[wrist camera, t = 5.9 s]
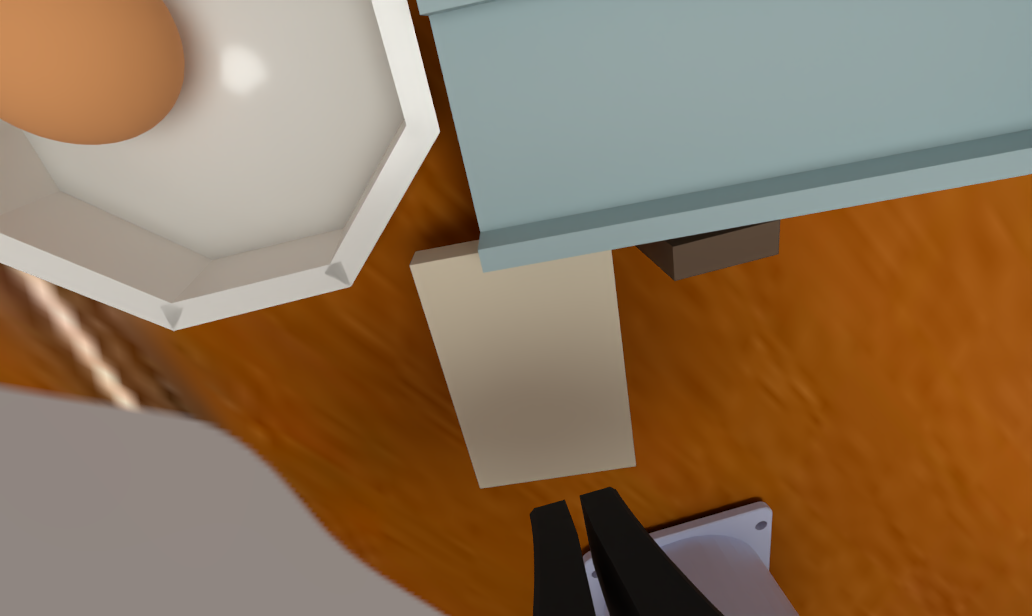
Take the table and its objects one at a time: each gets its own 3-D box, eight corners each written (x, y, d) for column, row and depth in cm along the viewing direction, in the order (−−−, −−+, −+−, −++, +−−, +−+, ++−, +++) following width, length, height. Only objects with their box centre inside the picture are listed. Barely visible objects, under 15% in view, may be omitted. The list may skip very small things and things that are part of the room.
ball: (-207, 32, 7) (46, 179, 8) (-96, -197, 7) (159, -20, 8) (1, 85, 11) (165, 184, 11) (83, -67, 10) (247, 46, 11)
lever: (1008, 389, 14) (1131, 479, 11) (481, 467, 15) (475, 566, 13) (1192, -190, 9) (1524, -295, 6) (340, 6, 10) (271, -2, 7)
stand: (747, 202, 15) (852, 251, 12) (552, 250, 15) (597, 317, 11) (753, -164, 12) (914, -263, 8) (489, -110, 11) (527, -189, 7)
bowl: (460, 217, 14) (471, 256, 12) (115, 301, 14) (43, 363, 11) (343, -244, 10) (317, -351, 7) (-170, -151, 9) (-404, -230, 7)
